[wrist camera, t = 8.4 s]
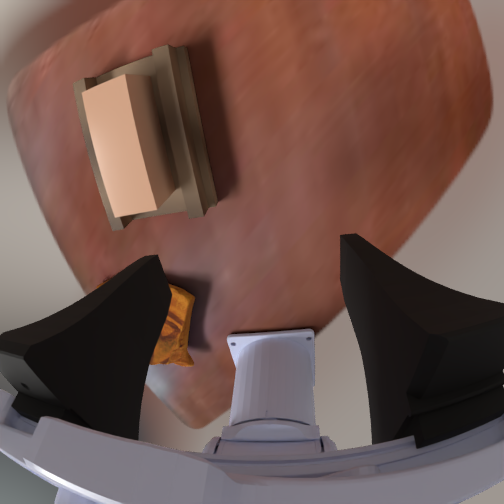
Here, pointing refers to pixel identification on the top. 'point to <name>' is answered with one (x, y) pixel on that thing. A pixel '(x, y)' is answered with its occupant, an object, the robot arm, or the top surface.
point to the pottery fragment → (175, 330)
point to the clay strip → (129, 144)
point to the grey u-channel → (164, 133)
